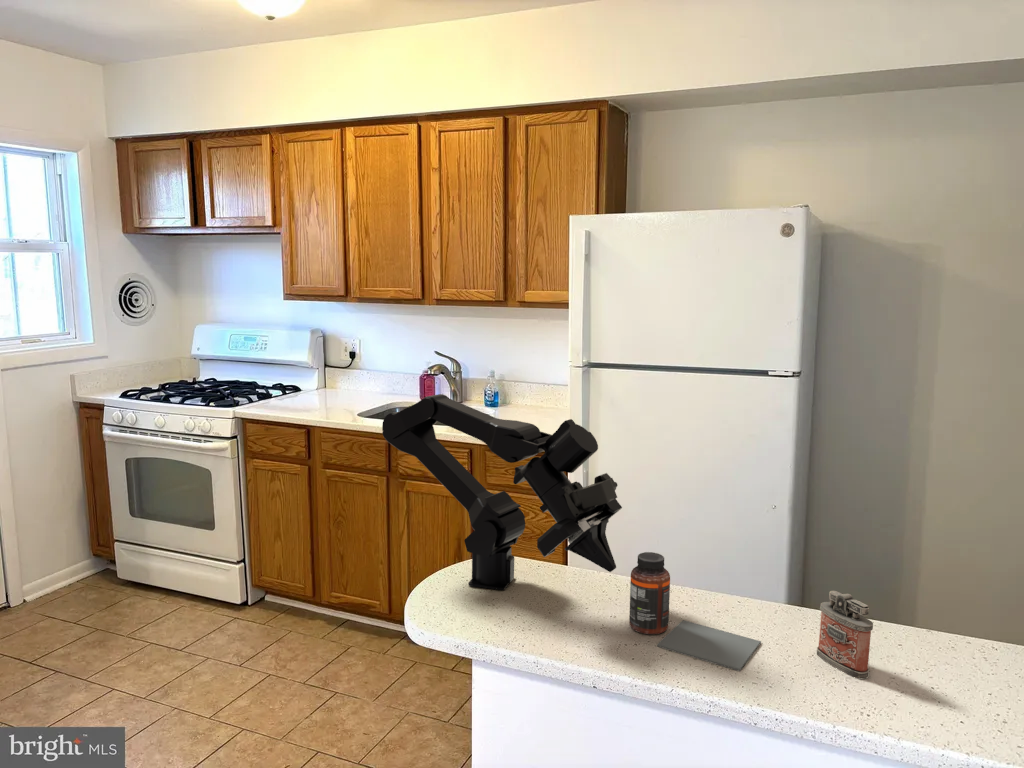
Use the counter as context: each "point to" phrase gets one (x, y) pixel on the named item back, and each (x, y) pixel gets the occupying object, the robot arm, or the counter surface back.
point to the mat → (710, 644)
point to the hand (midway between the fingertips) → (613, 569)
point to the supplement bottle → (649, 594)
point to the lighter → (845, 634)
